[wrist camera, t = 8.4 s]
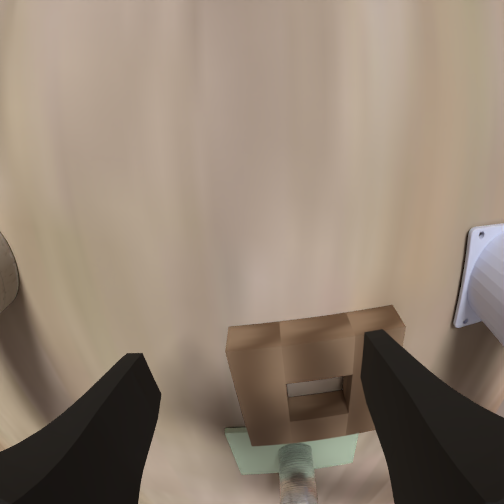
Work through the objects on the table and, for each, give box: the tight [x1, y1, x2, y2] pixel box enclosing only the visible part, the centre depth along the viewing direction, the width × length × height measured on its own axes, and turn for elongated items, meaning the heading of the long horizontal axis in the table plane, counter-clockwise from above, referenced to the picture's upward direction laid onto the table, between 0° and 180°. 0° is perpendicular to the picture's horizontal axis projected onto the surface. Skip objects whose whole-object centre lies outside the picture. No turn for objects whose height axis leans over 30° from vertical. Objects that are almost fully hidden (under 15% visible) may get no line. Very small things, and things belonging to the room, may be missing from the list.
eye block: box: [225, 305, 406, 446], centre depth 21 cm, size 11×11×2 cm
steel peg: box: [278, 443, 318, 504], centre depth 22 cm, size 3×3×9 cm
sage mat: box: [225, 427, 359, 475], centre depth 26 cm, size 12×9×1 cm
